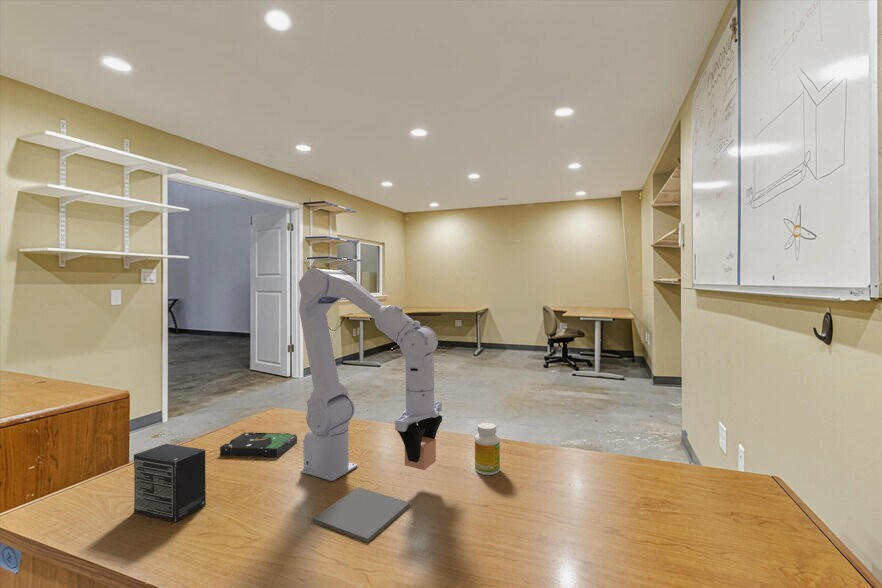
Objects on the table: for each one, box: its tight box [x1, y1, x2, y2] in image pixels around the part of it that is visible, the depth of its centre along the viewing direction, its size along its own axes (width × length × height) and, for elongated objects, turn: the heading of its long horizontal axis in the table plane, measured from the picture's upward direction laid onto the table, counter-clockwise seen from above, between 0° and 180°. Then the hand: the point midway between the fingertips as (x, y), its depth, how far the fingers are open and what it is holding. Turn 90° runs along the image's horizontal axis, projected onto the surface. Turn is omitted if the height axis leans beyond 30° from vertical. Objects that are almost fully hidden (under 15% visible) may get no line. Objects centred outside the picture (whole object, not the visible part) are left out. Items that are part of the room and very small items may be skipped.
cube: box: [404, 437, 437, 471], centre depth 80 cm, size 4×4×4 cm
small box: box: [133, 443, 207, 523], centre depth 72 cm, size 11×6×10 cm, turn 71°
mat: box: [311, 487, 411, 543], centre depth 70 cm, size 12×12×1 cm
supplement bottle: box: [474, 422, 501, 476], centre depth 87 cm, size 5×5×10 cm
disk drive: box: [219, 431, 298, 459], centre depth 100 cm, size 10×3×15 cm
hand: (420, 456), depth 80 cm, fingers closed on cube, 4 cm apart
